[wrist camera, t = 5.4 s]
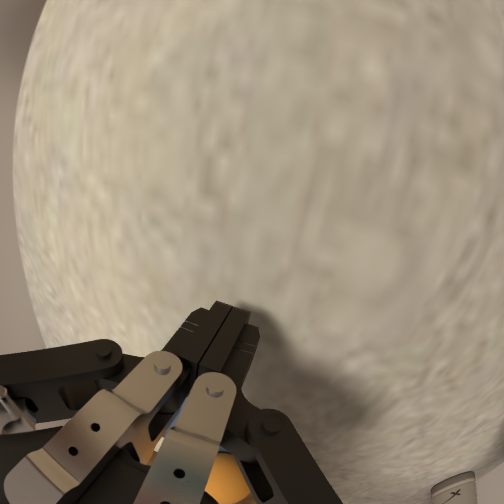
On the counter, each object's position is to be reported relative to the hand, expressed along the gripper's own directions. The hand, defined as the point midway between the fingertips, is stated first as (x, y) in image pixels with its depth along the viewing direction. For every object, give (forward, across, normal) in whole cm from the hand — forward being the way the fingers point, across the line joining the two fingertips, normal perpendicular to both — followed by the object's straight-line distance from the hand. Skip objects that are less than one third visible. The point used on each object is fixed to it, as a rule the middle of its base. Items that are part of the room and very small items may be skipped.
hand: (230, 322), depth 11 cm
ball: (-1, -3, +18) cm, 19 cm away
